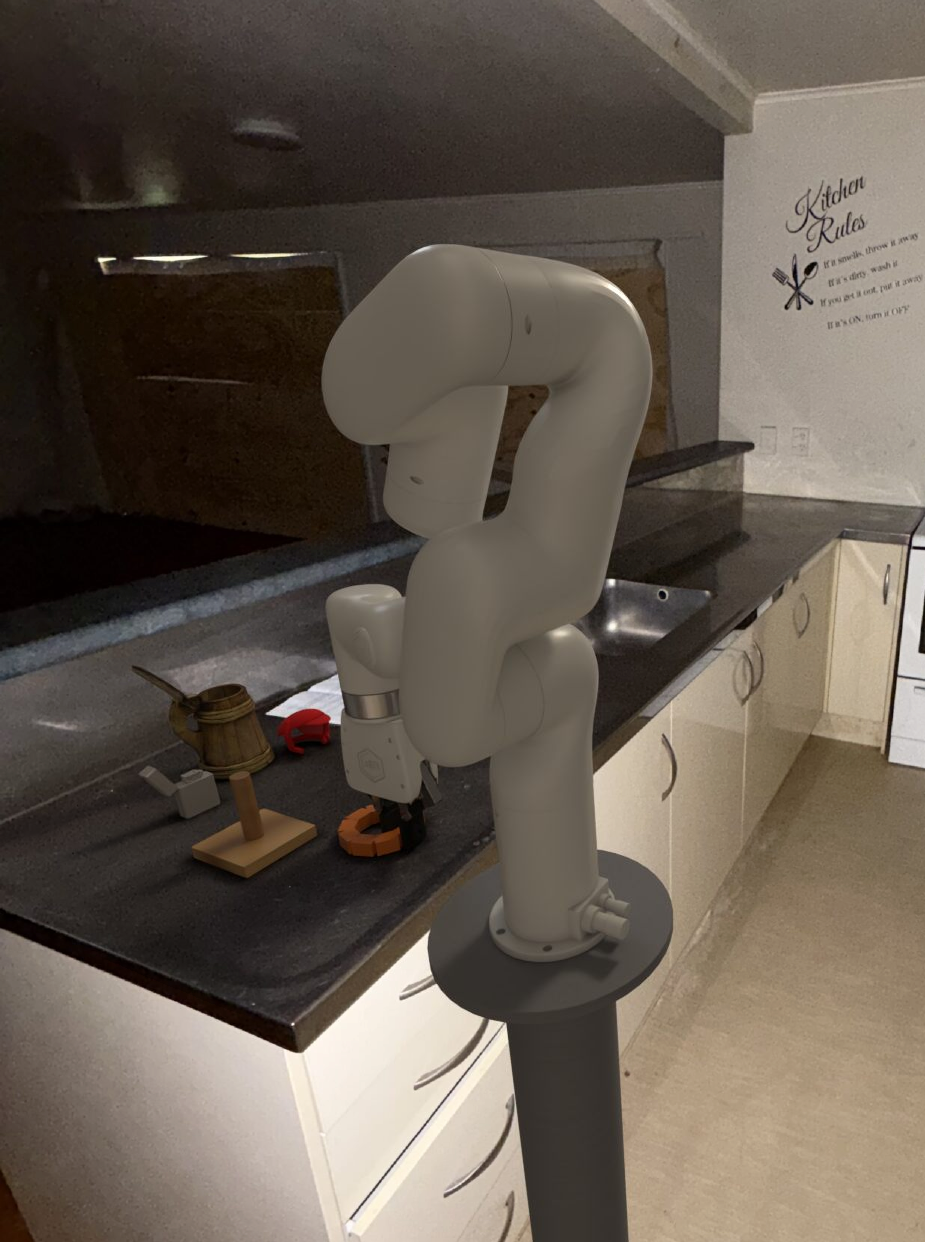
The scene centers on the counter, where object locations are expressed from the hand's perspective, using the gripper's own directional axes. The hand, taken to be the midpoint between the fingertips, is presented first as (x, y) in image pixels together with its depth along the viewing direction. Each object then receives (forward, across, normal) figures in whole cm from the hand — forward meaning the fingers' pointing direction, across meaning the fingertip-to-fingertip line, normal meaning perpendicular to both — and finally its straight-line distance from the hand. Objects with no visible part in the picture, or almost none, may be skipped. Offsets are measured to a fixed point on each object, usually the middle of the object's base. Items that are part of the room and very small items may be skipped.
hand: (405, 839), depth 89 cm
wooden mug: (0, -36, +2) cm, 36 cm away
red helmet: (0, -31, +12) cm, 33 cm away
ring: (0, -4, 0) cm, 4 cm away
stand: (0, -15, -8) cm, 17 cm away
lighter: (0, -29, -7) cm, 30 cm away
